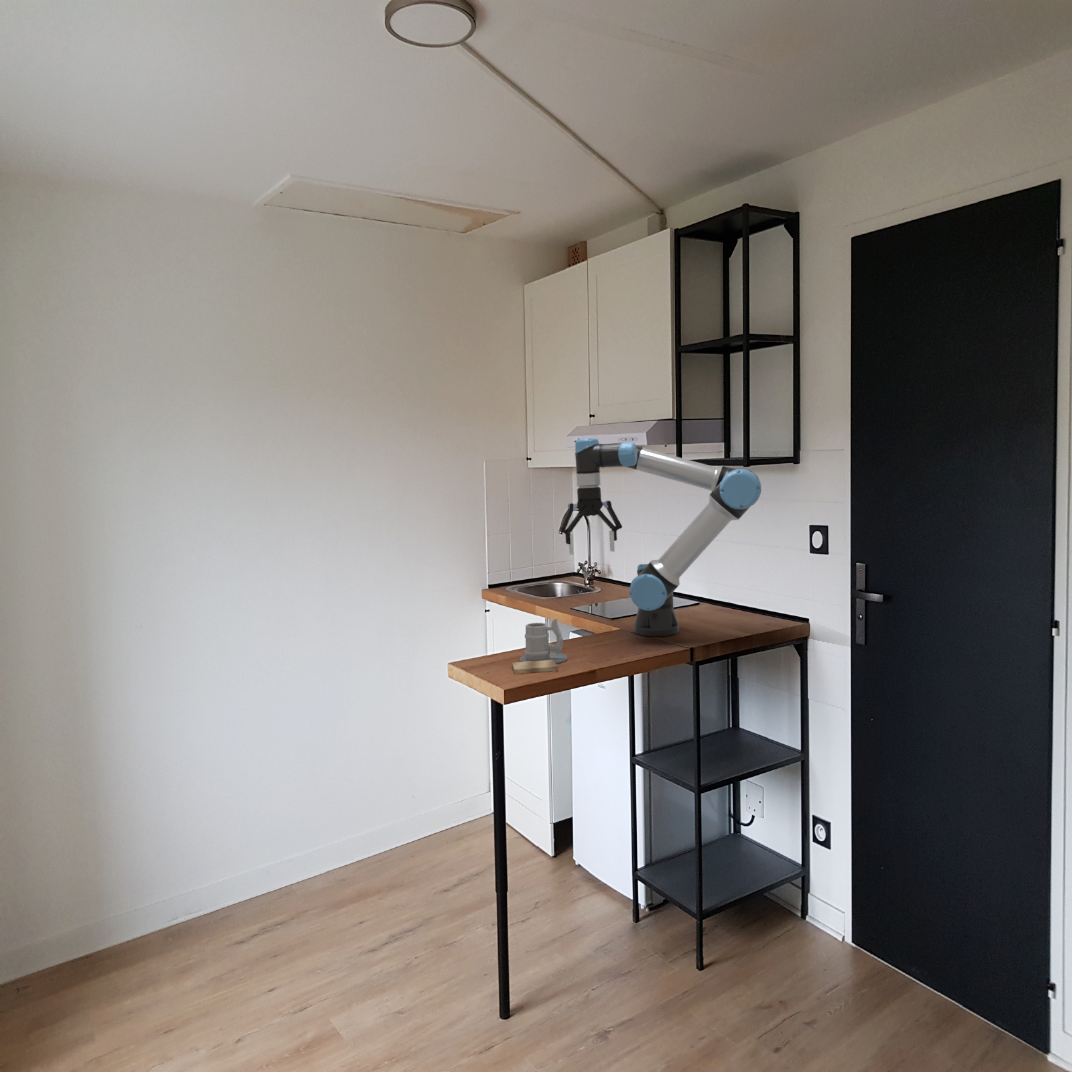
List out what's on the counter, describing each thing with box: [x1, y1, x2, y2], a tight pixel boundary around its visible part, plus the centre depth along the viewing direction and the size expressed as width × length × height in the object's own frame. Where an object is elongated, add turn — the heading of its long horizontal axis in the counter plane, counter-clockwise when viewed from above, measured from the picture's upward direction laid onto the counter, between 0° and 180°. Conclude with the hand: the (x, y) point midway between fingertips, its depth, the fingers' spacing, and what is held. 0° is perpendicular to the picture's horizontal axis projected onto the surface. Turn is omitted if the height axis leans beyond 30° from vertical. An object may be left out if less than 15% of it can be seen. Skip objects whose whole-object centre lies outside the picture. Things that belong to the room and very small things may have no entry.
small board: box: [511, 660, 559, 675], centre depth 227 cm, size 12×8×1 cm, turn 97°
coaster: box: [519, 651, 568, 665], centre depth 237 cm, size 14×14×1 cm
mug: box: [524, 617, 564, 660], centre depth 236 cm, size 8×12×12 cm, turn 73°
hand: (592, 552), depth 259 cm, fingers open, 13 cm apart
